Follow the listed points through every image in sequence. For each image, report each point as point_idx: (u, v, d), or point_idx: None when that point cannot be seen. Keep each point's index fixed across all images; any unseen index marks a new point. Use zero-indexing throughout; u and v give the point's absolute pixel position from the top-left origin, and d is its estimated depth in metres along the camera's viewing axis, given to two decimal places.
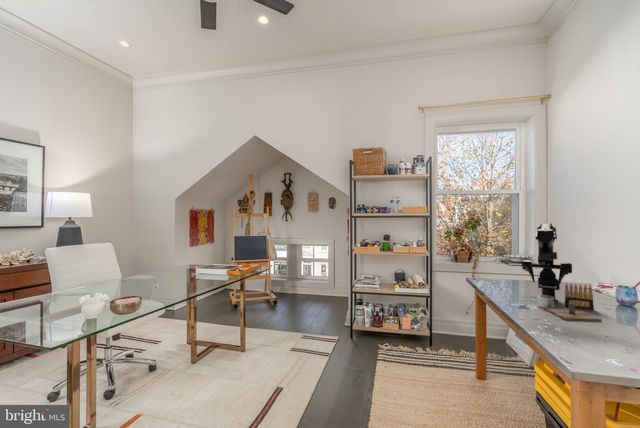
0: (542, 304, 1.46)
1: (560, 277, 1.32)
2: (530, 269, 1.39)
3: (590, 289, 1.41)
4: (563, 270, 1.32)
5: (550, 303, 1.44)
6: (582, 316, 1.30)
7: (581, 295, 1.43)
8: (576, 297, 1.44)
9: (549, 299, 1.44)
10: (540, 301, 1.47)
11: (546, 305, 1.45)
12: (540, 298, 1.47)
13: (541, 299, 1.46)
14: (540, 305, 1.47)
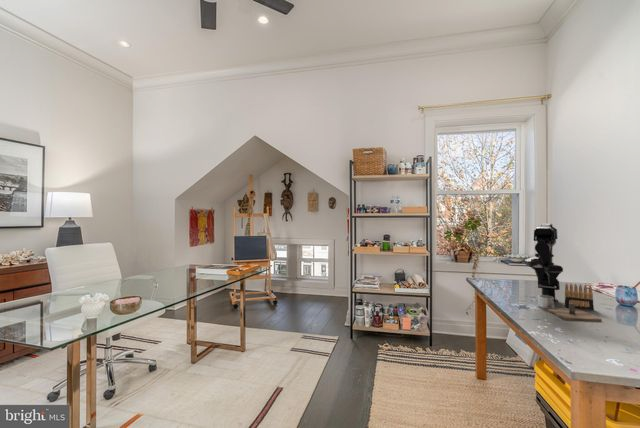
0: (542, 304, 1.46)
1: (548, 279, 1.42)
2: (534, 269, 1.53)
3: (590, 289, 1.41)
4: (547, 273, 1.41)
5: (550, 303, 1.44)
6: (582, 316, 1.30)
7: (581, 295, 1.43)
8: (576, 297, 1.44)
9: (549, 299, 1.44)
10: (540, 301, 1.47)
11: (546, 305, 1.45)
12: (540, 298, 1.47)
13: (541, 299, 1.46)
14: (540, 305, 1.47)
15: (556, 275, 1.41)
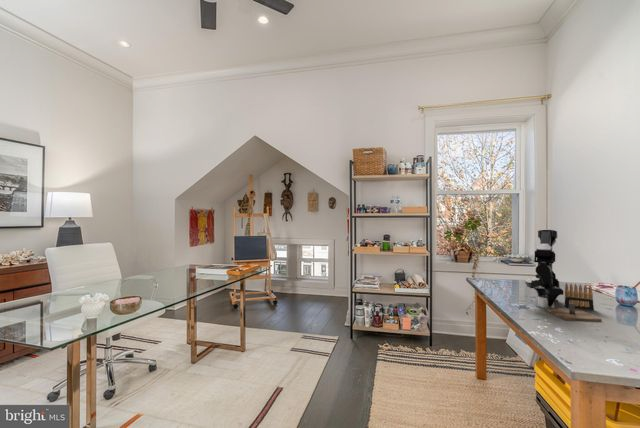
0: (542, 304, 1.46)
1: (547, 300, 1.44)
2: (536, 290, 1.52)
3: (590, 289, 1.41)
4: (546, 294, 1.43)
5: None
6: (582, 316, 1.30)
7: (581, 295, 1.43)
8: (576, 297, 1.44)
9: None
10: (540, 301, 1.47)
11: (546, 305, 1.45)
12: (540, 298, 1.47)
13: (541, 299, 1.46)
14: (540, 305, 1.47)
15: (555, 297, 1.42)
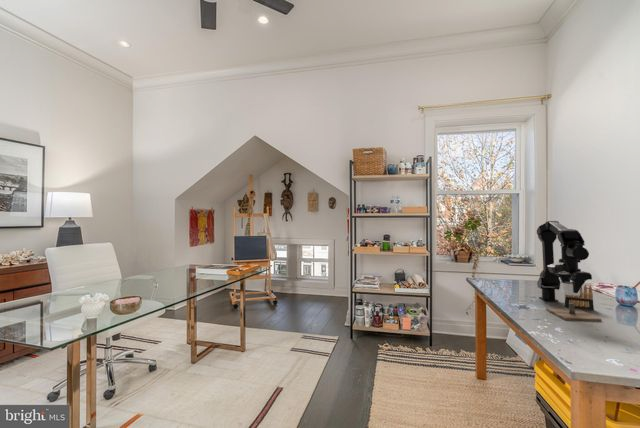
0: (567, 291, 1.33)
1: (573, 286, 1.30)
2: (559, 276, 1.39)
3: (590, 289, 1.41)
4: (572, 280, 1.29)
5: None
6: (582, 316, 1.30)
7: (581, 295, 1.43)
8: (576, 297, 1.44)
9: None
10: (564, 288, 1.33)
11: (571, 292, 1.31)
12: (564, 284, 1.33)
13: (565, 285, 1.33)
14: (564, 292, 1.34)
15: (582, 282, 1.29)
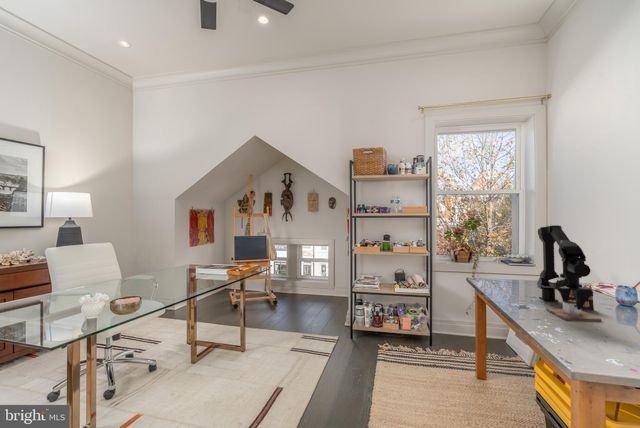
0: (568, 311, 1.32)
1: (576, 302, 1.29)
2: (559, 290, 1.40)
3: None
4: (575, 296, 1.28)
5: (577, 310, 1.31)
6: (582, 316, 1.30)
7: None
8: None
9: None
10: (566, 307, 1.33)
11: (573, 312, 1.31)
12: (566, 304, 1.33)
13: (567, 305, 1.33)
14: (566, 312, 1.33)
15: (585, 299, 1.27)
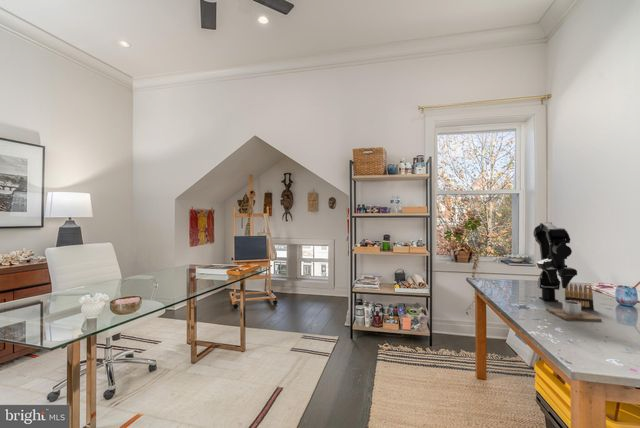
0: (568, 311, 1.32)
1: (562, 282, 1.38)
2: (546, 271, 1.49)
3: (590, 289, 1.41)
4: (561, 276, 1.37)
5: (577, 310, 1.31)
6: (582, 316, 1.30)
7: (581, 295, 1.43)
8: (576, 297, 1.44)
9: (576, 305, 1.31)
10: (566, 307, 1.33)
11: (573, 312, 1.31)
12: (566, 304, 1.33)
13: (567, 305, 1.33)
14: (566, 312, 1.33)
15: (570, 278, 1.36)
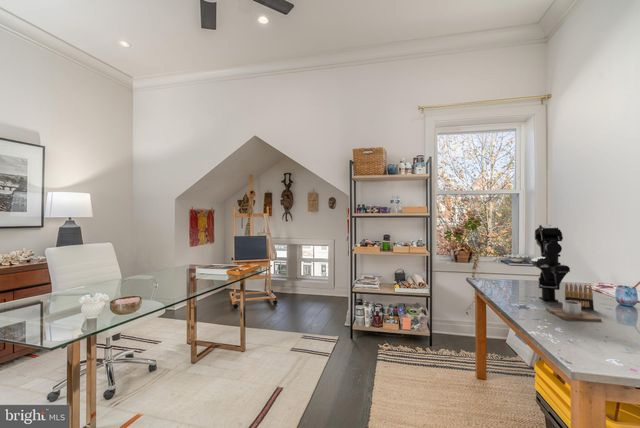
0: (568, 311, 1.32)
1: (555, 279, 1.42)
2: (540, 269, 1.53)
3: (590, 289, 1.41)
4: (554, 273, 1.41)
5: (577, 310, 1.31)
6: (582, 316, 1.30)
7: (581, 295, 1.43)
8: (576, 297, 1.44)
9: (576, 305, 1.31)
10: (566, 307, 1.33)
11: (573, 312, 1.31)
12: (566, 304, 1.33)
13: (567, 305, 1.33)
14: (566, 312, 1.33)
15: (563, 275, 1.40)
